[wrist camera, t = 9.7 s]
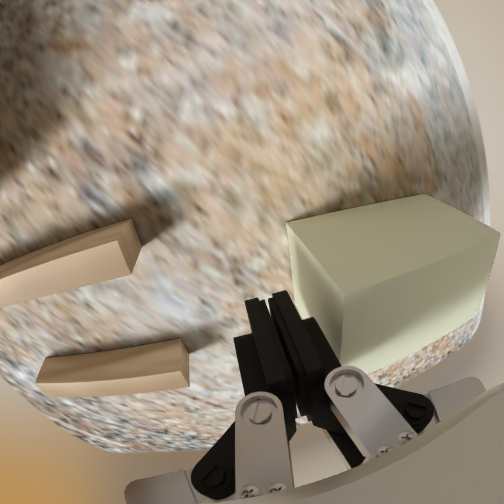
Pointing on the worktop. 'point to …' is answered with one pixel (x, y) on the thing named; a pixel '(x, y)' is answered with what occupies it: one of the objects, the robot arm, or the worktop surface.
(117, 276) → the chute
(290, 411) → the robot arm
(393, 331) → the block
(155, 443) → the worktop surface
